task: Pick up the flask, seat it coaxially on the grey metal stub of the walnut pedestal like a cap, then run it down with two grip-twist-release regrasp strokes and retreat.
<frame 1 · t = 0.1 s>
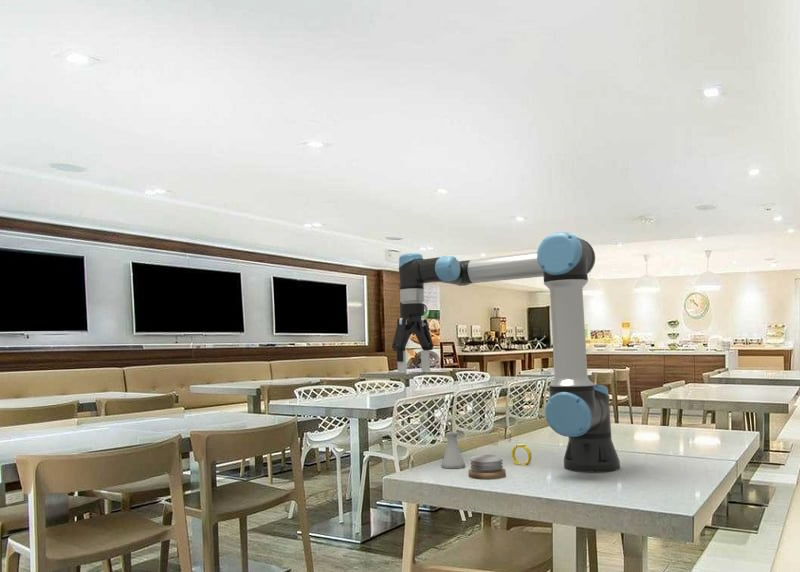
hand: (414, 372, 200), 28 cm above the table, tool pointing down, fingers open, 13 cm apart
pedestal: (487, 475, 175), on the table
flask: (453, 467, 190), on the table
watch: (521, 465, 191), on the table
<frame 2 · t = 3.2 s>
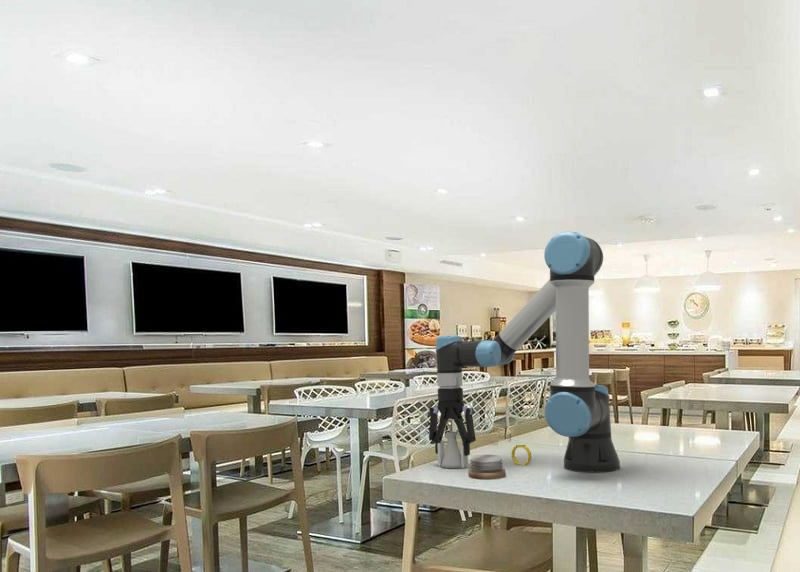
hand: (452, 465, 191), 0 cm above the table, tool pointing down, fingers closed on flask, 7 cm apart
flask: (453, 467, 191), on the table, touching gripper
everything else where it was.
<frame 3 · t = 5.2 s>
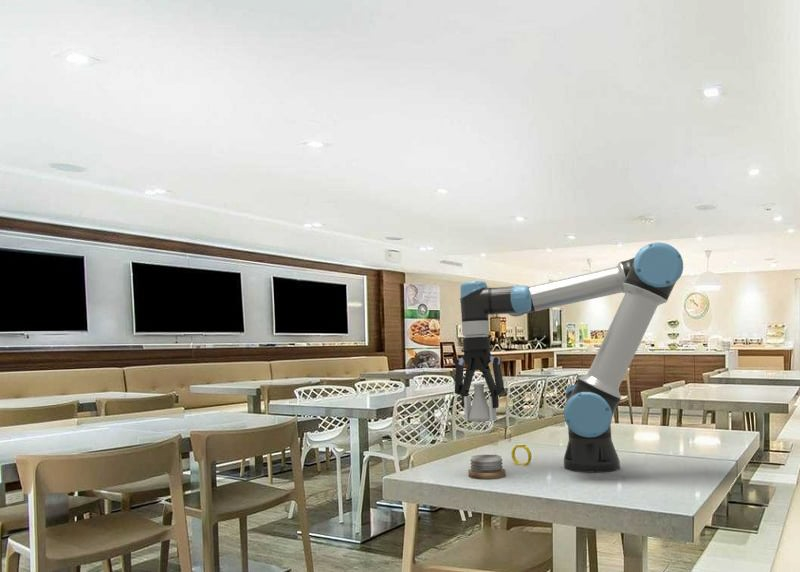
hand: (480, 419, 179), 15 cm above the table, tool pointing down, fingers closed on flask, 7 cm apart
flask: (480, 421, 179), point 14 cm above the table, touching gripper
everything else where it was.
when the fingers open (6 cm above the table, at t = 7.3 s): flask drops 1 cm, resting on pedestal.
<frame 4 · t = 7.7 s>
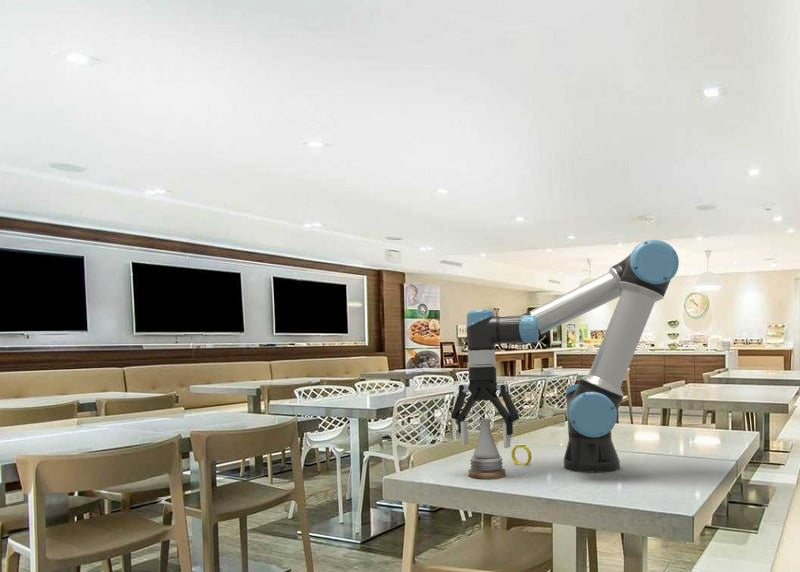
hand: (485, 446, 176), 8 cm above the table, tool pointing down, fingers open, 12 cm apart
flask: (486, 457, 175), point 5 cm above the table, touching pedestal
everything else where it was.
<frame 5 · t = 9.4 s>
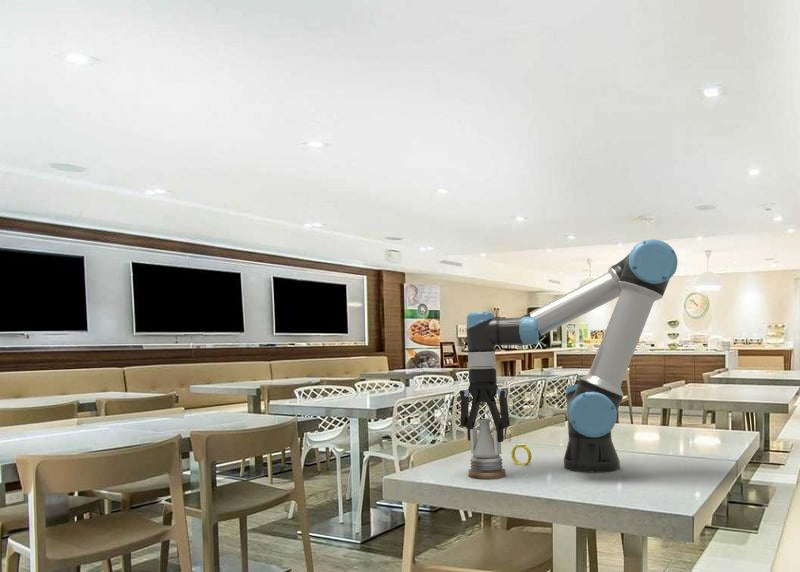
hand: (486, 453, 176), 6 cm above the table, tool pointing down, fingers closed on flask, 6 cm apart
flask: (486, 457, 175), point 5 cm above the table, touching gripper, pedestal
everything else where it was.
when the fingers open (6 cm above the table, at t = 10.8 s): flask stays where it is, resting on pedestal.
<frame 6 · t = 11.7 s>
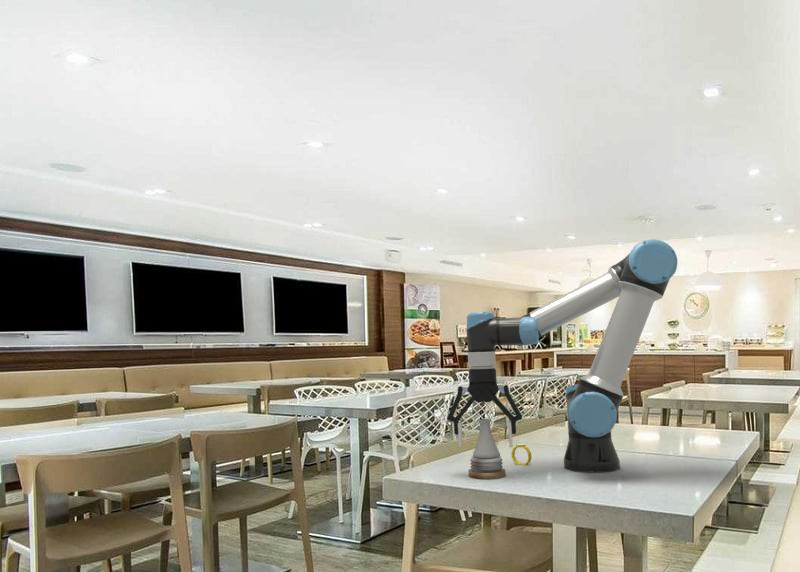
hand: (485, 446, 176), 8 cm above the table, tool pointing down, fingers open, 13 cm apart
flask: (486, 457, 175), point 5 cm above the table, touching pedestal
everything else where it was.
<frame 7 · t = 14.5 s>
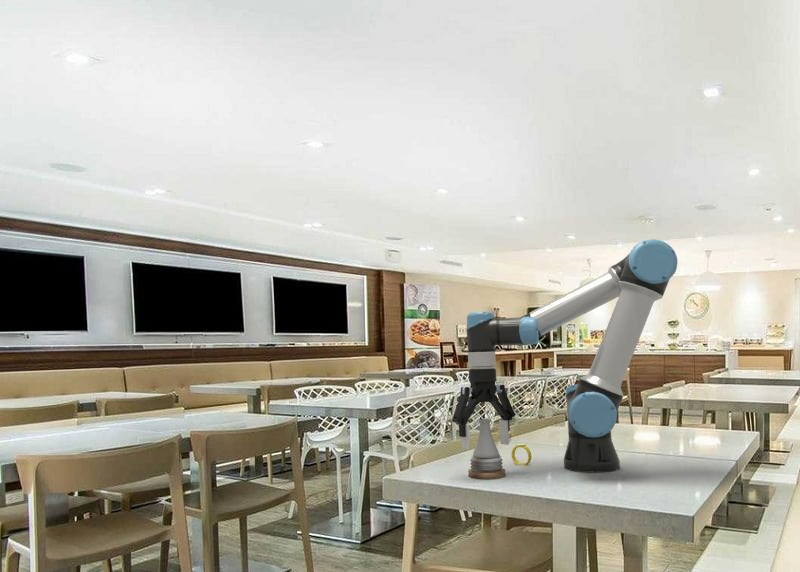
hand: (485, 446, 176), 8 cm above the table, tool pointing down, fingers open, 13 cm apart
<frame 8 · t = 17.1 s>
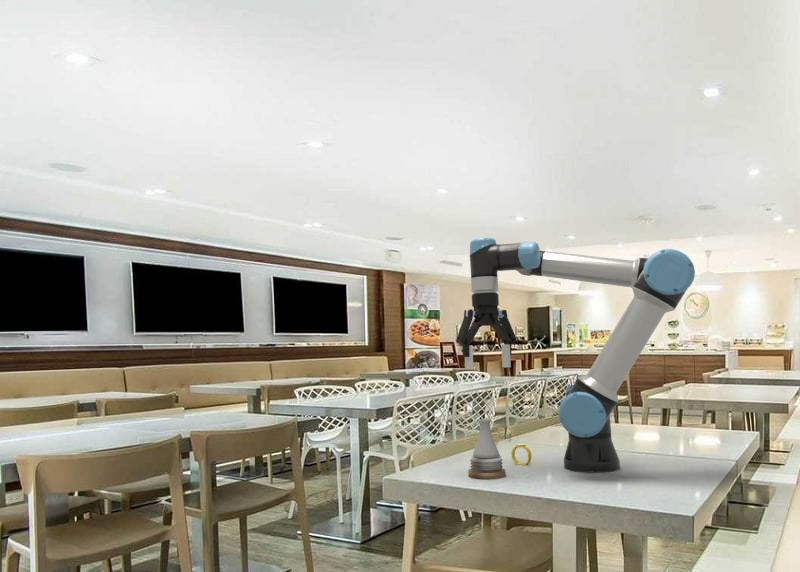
hand: (488, 368, 181), 29 cm above the table, tool pointing down, fingers open, 13 cm apart
at the end: flask 0.0 cm off-centre on the pedestal, point 4.8 cm above the pedestal's base; flask tilted 0°; the gripper is holding nothing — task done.
